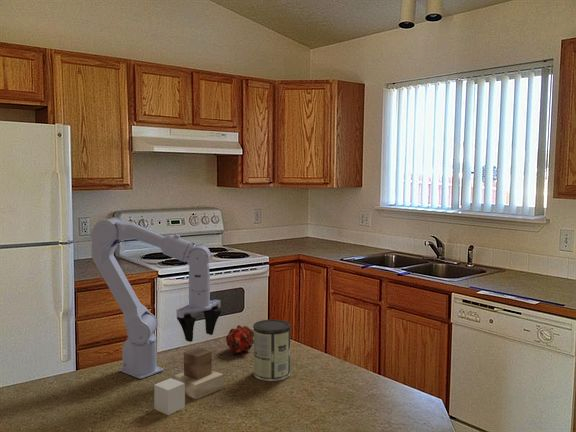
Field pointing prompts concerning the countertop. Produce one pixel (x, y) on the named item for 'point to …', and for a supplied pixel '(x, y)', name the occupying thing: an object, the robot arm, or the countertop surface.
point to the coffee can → (272, 350)
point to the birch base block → (201, 384)
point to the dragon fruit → (240, 339)
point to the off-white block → (169, 396)
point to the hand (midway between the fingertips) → (199, 337)
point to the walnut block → (197, 363)
